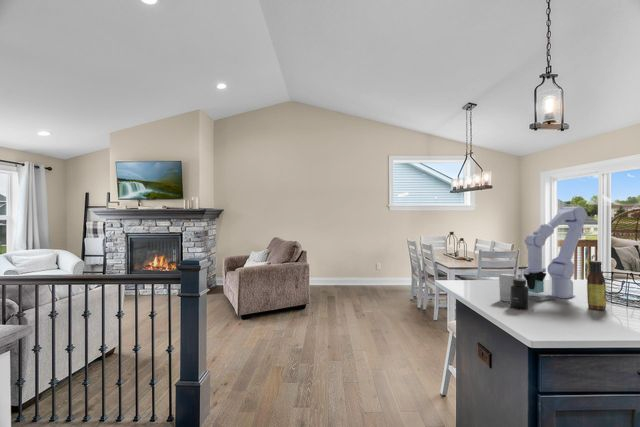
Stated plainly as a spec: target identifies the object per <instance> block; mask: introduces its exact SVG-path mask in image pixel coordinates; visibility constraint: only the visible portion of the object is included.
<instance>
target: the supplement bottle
mask: <svg viewBox="0 0 640 427" xmlns="http://www.w3.org/2000/svg"><path fill="white" fill-rule="evenodd" d="M513 284H514V285H512V286H511V288H510V304H509V306H510V308H512V309H515V310H520V309H521V310H523V311H524V310H528V309H529V300H528V298H529V289H528V287H527V281H526V279H522V278H516V279H513Z"/></svg>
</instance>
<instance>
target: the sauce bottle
mask: <svg viewBox="0 0 640 427" xmlns="http://www.w3.org/2000/svg"><path fill="white" fill-rule="evenodd" d="M602 263H603V262H602V261H600V260H590V261H589V268H590V269H589V271H590V272H589V274H588V275H587V277H586V278H587V280H586V281H587V283H586V292H587V295H586V296H587V298H586V299H587V307H588V308H589V309H591V310H597V311H604V310H606V308H607V292H606V287H607V286H606V279H605V277H604V274H603V272H602V265H603V264H602Z"/></svg>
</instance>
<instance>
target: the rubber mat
mask: <svg viewBox="0 0 640 427" xmlns="http://www.w3.org/2000/svg"><path fill="white" fill-rule="evenodd" d="M553 300H556V297H554V296H548V294H541V293H534V292H529V298H528V301H531V302H532V301H533V302H538V303H543V302H549V301H553Z"/></svg>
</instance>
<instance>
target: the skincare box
mask: <svg viewBox="0 0 640 427" xmlns="http://www.w3.org/2000/svg"><path fill="white" fill-rule="evenodd" d="M498 277H499V278H498V281H499V282H498V284H499V301H504V302H510V288H511V286H512V285H514V284H513V279H517V275H516V274H510V273H501V274H498Z"/></svg>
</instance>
